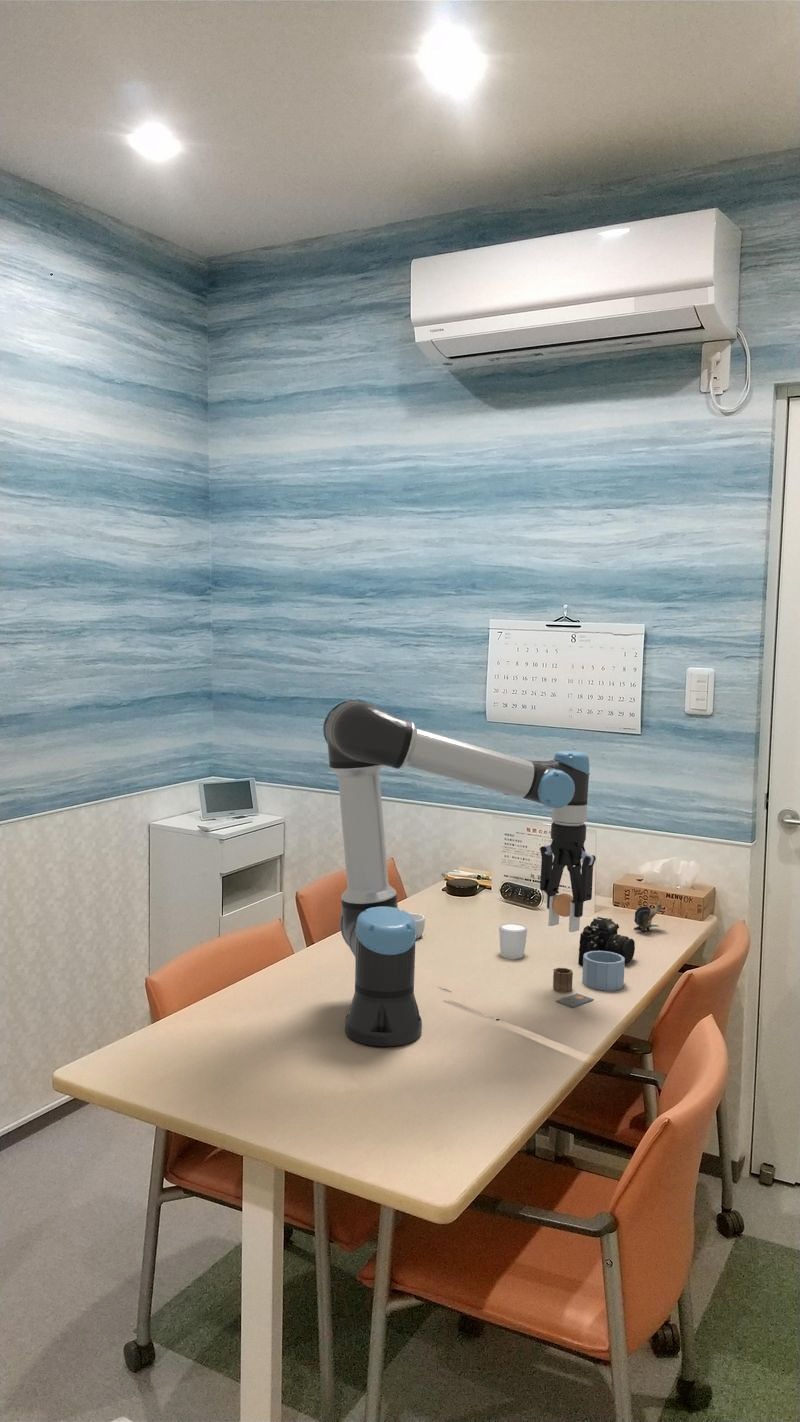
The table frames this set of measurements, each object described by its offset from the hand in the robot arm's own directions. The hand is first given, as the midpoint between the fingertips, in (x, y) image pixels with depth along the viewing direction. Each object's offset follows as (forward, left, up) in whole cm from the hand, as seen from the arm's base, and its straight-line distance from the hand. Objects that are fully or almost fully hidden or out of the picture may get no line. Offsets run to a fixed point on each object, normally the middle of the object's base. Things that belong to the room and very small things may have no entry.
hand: (563, 927), depth 216 cm
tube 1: (0, 0, -14) cm, 14 cm away
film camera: (+25, +5, -14) cm, 29 cm away
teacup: (-2, +48, -14) cm, 50 cm away
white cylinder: (+9, +22, -14) cm, 28 cm away
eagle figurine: (+49, +11, -14) cm, 52 cm away
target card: (-4, -7, -14) cm, 16 cm away
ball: (0, 0, +5) cm, 5 cm away
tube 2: (+10, -4, -14) cm, 17 cm away
